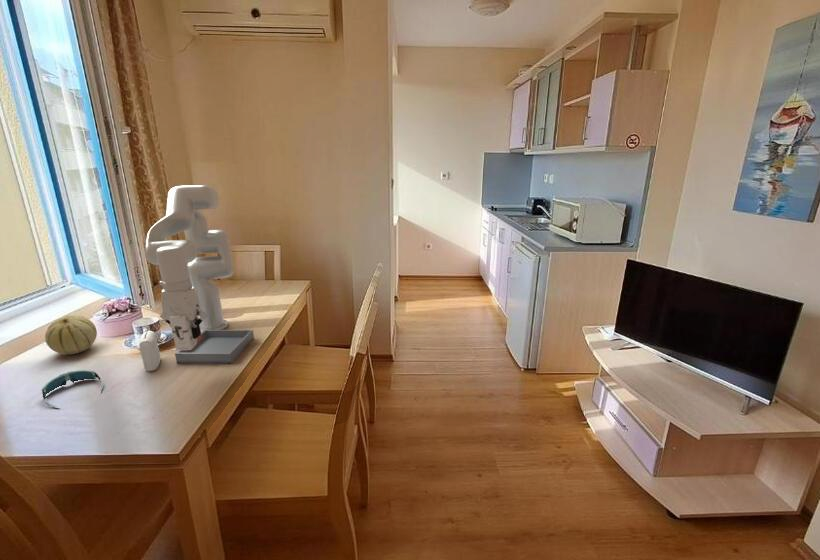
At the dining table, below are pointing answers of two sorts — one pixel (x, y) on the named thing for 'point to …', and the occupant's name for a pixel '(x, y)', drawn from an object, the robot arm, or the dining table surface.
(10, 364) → the dining table surface
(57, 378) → the sunglasses
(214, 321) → the robot arm
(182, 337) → the ink box
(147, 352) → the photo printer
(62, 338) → the cantaloupe
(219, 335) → the tray
